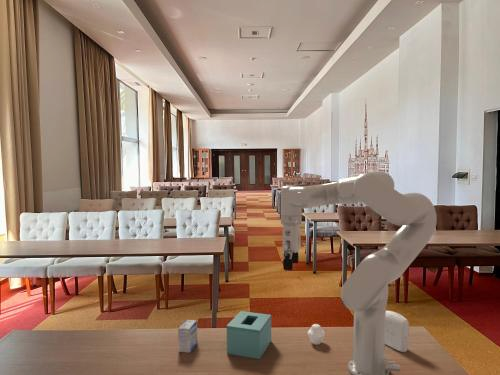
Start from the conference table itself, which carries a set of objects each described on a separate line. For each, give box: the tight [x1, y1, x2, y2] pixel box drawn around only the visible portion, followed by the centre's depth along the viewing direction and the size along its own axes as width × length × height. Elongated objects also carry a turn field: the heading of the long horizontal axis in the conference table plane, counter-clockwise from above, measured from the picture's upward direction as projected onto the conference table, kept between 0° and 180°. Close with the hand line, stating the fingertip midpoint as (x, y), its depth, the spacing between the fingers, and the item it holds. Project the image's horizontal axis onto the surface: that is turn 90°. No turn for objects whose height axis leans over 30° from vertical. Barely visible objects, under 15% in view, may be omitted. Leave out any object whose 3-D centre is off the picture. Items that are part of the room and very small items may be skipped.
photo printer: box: [385, 310, 410, 353], centre depth 143 cm, size 10×4×12 cm, turn 31°
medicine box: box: [177, 319, 198, 354], centre depth 143 cm, size 8×4×9 cm, turn 168°
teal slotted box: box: [226, 310, 272, 360], centre depth 143 cm, size 12×14×10 cm
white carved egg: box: [307, 323, 326, 346], centre depth 146 cm, size 6×6×7 cm
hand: (291, 266), depth 145 cm, fingers open, 9 cm apart
